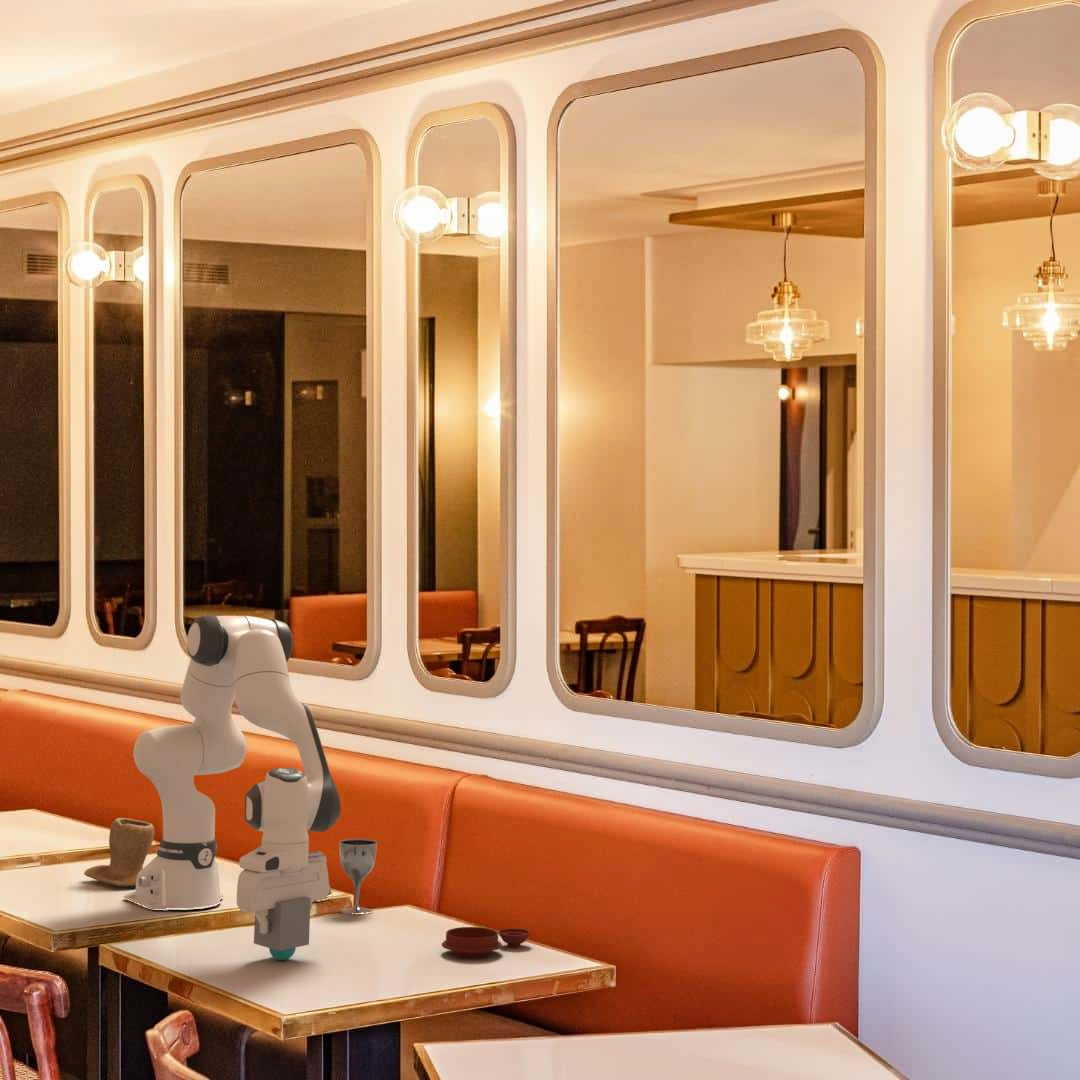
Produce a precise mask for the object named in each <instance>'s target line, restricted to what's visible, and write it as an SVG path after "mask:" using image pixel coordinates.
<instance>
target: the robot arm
mask: <svg viewBox="0 0 1080 1080" xmlns="http://www.w3.org/2000/svg"><path fill="white" fill-rule="evenodd" d="M293 638H294V637H293V633H292V631H291V629H290V627H289V626H288V624H287V623H285V622H284V621H280V620H277V619H273V618H269V619H266V618H264V617H263V618H262V617H258V616H251V615H215V614H206V615H201V616H197V617H196V618H195V619H194V620H193V621H192V623H191V625H190V626H189V628H188V632H187V639H186V640H187V641H186V648H187V654H188V655H189V657H190V659H189V664H188V666H187V667H188V668H187V670H186V674H185V677H184V680H183V683H182V684H183V685H182V688H181V690H180V691H181V692H180V696H179V697H180V702H181V706H182V707H183V709H184V710H185V711H186V712H187V713H188V714H190V715H191V716H192V717H194V721H193V722H192V723H191V724H187V725H186V724H184V725H182V724H181V725H167V726H165V725H164V726H159V727H155V728H152V729H147V730H145V731H143V732H141V733H140V734H139V736H138V737H137V739H136V740H135V744H134V746H133V759H134V760H133V761H134V763H135V765H136V767H137V769H138V771H139V772H140V773H141V774H143V775H144V776H145V777H147V778H148V779H149V780H150V781H151V782H152V784H153V785H154V787H155V789H156V791H157V793H158V796H159V798H160V801H161V807H162V809H161V810H162V838H161V840H159V841H154V843H155V844H156V843H157V844H156V845H154V847H156V848H157V851H156V852H157V853H156V856H155V857H154V858H153V859H152V860H151V861H150V862H149V863H148V864H146V865H145V866H144V867H143V869H142V870H140V871H139V873H138V875H137V880H136V886H135V891H133V892H129V893H127V894H125V895H124V896H123V899H124V898H126V899H129V900H131V901H133V902H136V903H139V904H141V905H144V906H146V907H148V908H151V909H166V908H194V907H202V906H203V907H204V906H210V905H214V904H217V903H219V902H220V898H221V897H223V898H224V895H223V893H221V887H220V876H219V875H220V874H219V864H218V861H216V858H215V857H216V856H217V849H218V844H217V839H216V838H215V837H216V834H215V832H216V829H215V828H216V807H215V806H216V805H215V804H214V802H213V800H212V799H211V798H210V797H209V795H207V794H204V793H202V792H200V791H198V790H197V787H196V784H195V782H194V781H195V777H194V776H204V775H205V776H206V775H216V774H217V775H218V774H222V773H225V772H229V771H232V770H234V769H237V768H240V767H241V765H242V764H243V762H244V760H245V758H246V755H247V747H248V746H247V741H246V737H245V735H244V733H243V732H242V731H241V729H240V728H239V727H238V726H236V724H235V723H234V720H233V717H232V709H233V708H232V707H233V704H234V703H233V702H234V700H235V703H236V706H237V709H238V711H239V713H240V714H241V716H242V717H243V718H244V719H245V720H246V721H248V722H249V723H250V724H253V725H255V726H256V727H259V728H261V729H264V730H267V731H270V732H273V733H276V734H279V735H281V736H283V737H285V738H287V739H289V740H290V741H291V742H292V743H293V744H294V745H295V746H296V748H297V750H298V754H299V757H300V761H301V764H302V767H303V770H304V772H303V771H302V770H301V769H297V768H293V767H278V768H274V769H271V770H269V771H268V772H267V773H266V775H265V778H264V781H262V782H258V783H255V784H253V786H252V787H250V788H249V789H248V791H247V792H246V793H245V796H244V798H245V799H244V804H245V805H244V820H245V822H246V823H247V825H249V826H250V827H251V828H252V829H254V830H255V831H260V832H263V834H262V836H261V845H259V846H258V847H257V848H255V849H253V850H252V851H250V852H248V853H246V854H245V855H242V856H241V857H240V858H239V862H238V863H239V864H238V865H239V868H240V869H242V870H241V871H240V873H239V875H238V879H237V885H236V886H237V887H236V888H237V889H236V906H237V907H238V909H239V910H240V911H241V912H244V913H245V912H246V913H249V914H250V913H254V917H255V916H256V918H257V920H258V922H259V923H260V933H263V934H267V933H270V932H271V931H272V929H271V928H272V923H268V921H267V919H266V916H265V915H268V909H274V908H275V905H276V902H279V901H285V900H290V899H296V898H301V897H308V898H311V903H310V911H312V908H313V903H312V901H317V900H322V899H326V898H327V896H328V894H329V886H330V882H329V881H330V880H329V871H328V867H327V862H328V861H327V856H326V855H325V853H324V852H322V851H320V850H315V851H309V850H310V848H309V847H310V845H309V844H310V837H309V833H308V832H317V833H318V832H319V833H320V832H321V833H325V832H326V831H328V830H329V829H331V828H332V827H333V826H334V825H335V823H337V821H338V820H339V819H340V817H341V812H342V807H341V806H342V805H341V804H342V803H341V797H340V793H339V791H338V788H337V786H336V784H335V781H334V779H333V776H332V774H331V771H330V768H329V764H328V761H327V758H326V755H325V751H324V748H323V745H322V742H321V737H320V734H319V731H318V729H317V725H316V722H315V720H314V717H313V714H312V712H311V710H310V708H309V707H308V706H307V705H306V704H304V703H302V702H301V701H300V700H299V699H298V697H297V695H295V693H294V691H293V688H292V686H291V681H290V676H289V667H288V661H289V660H290V658H291V655H292V654H293V645H294V639H293ZM234 698H235V699H234Z"/></svg>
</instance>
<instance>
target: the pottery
mask: <svg viewBox="0 0 1080 1080" xmlns="http://www.w3.org/2000/svg"><path fill="white" fill-rule="evenodd" d="M530 935H531V931H530V930H527V929H524V928H503V929H499V930H498V931H497V930H495V929H491V928H490V927H489V928H488V927H481V926H479V927H478V926H463V927H462V926H461V927H454V928H450V929H448V930H447V931H446V932H445V940H444V941H442V943H441V947H443V949H446V950H448V951H452V952H453V953H455V955H456V956H457V957H461V958H466V959H467V958H468V959H469V958H470V959H476V958H477V959H480V958H484V957H487V956H488V954H489V953H491V952H494V951H497V950H499V949H501V948H502V947H503V944H502V942H501V941H499V937H501V940H502V941H503V943H506V948H509V949H520V948H522V944H524V942H525V943H526V941H527V939H528V938H529V937H530Z"/></svg>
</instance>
